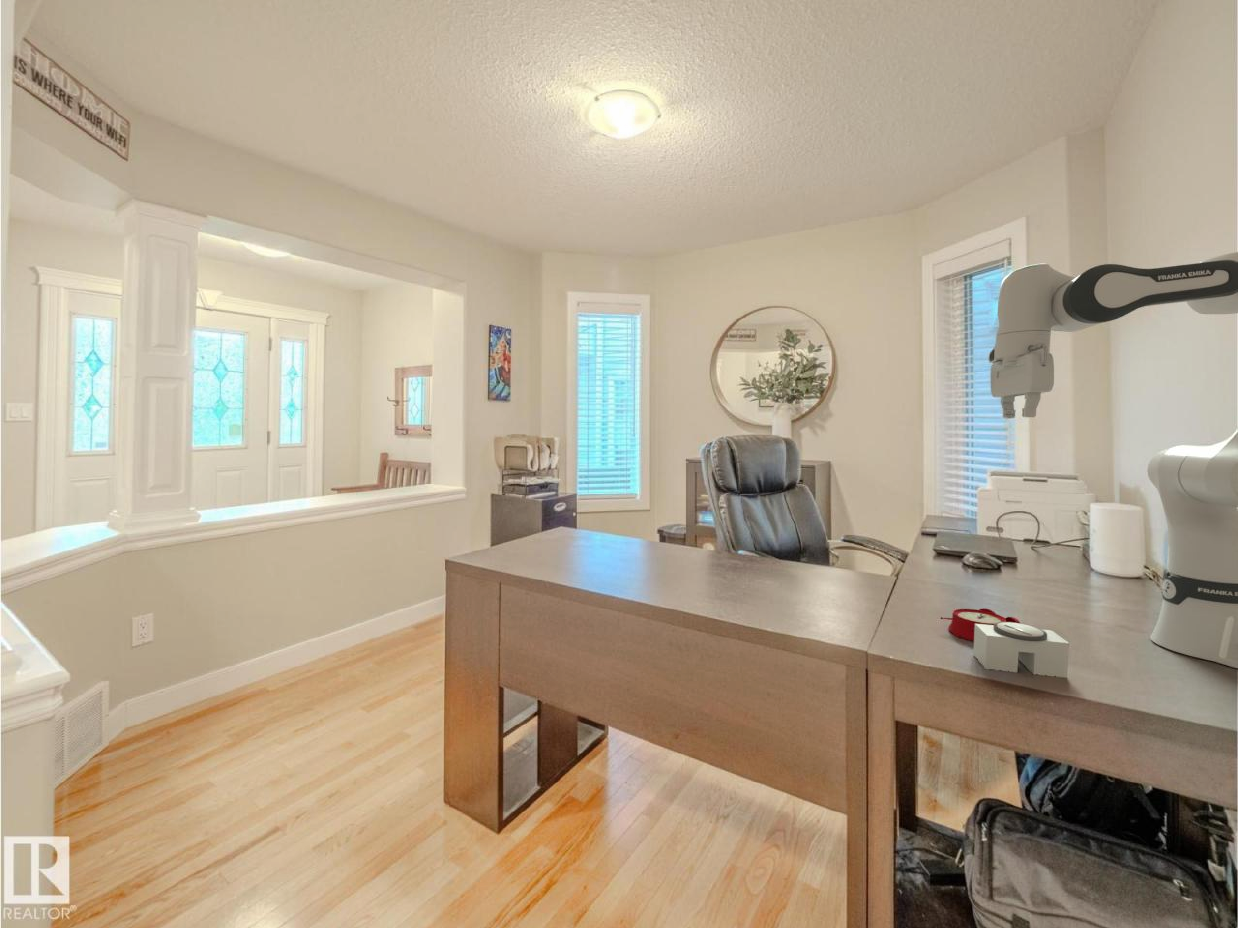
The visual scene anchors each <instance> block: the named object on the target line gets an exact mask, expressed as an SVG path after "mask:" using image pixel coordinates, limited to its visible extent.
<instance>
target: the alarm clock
mask: <svg viewBox="0 0 1238 928" xmlns="http://www.w3.org/2000/svg"><path fill="white" fill-rule="evenodd" d="M951 615H952V616H951V617H942V616H941V617H940V620H949V621H951V622H950V624H949V625H948V631H949V632H950V633H951V634H952V635H955V638H957V637H958V639H960V638H962V639H963V640H964V639H965V640H967V641H968V640H969V641H972V642H974V630H975V624H985V625H994V624H995V623H998V622H1014V623H1020V624H1021V622H1020V620H1019V619H1018V618H1016V617H1014V616H1007V617H1004V616H1002V615H1000V614H997V613H996V612H995V611H993V610H992V609H989V608H986V607H985V608H980V609H974V608H957V609H954V610H953V612H952V614H951Z"/></svg>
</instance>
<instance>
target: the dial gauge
mask: <svg viewBox="0 0 1238 928" xmlns="http://www.w3.org/2000/svg"><path fill="white" fill-rule="evenodd" d="M1069 647H1070V643H1069V642H1068V641H1067V640H1065V639H1064V638H1062V637H1061V636H1060V635H1058V633H1056V632H1055V631H1053V630H1050V629H1041V628H1039V627H1035V626H1034V625H1029V624H1026V623H1021V622H1020V623H1014V622H998V623H995V624H994V625H985V624H975V630H974V641H973V651H972V652H973V654H974V655H973V657H974V656H975V657H976V658H977V659H978V660H977V659H976V658H975V657H974V658H975V659H976V660H977V661H978V662H979V664H980V663H981V664H982V665H983V666H984V667H983V666H982V665H981V666H982V667H983V668H984V669H985V670H989V669H995V670H994V671H999V670H1002V671H1001V672H1008V671H1009V672H1010V673H1018V667H1019V662H1020V661H1021V662H1022V663H1023V664H1024V665H1025V666H1026V667H1025V666H1024V665H1023V664H1022V663H1021V662H1020V663H1021V664H1022V665H1023V666H1024V667H1025V668H1026V669H1027V670H1029V672H1031V673H1032V674H1033V675H1036V674H1038V676H1045V675H1047V676H1048V677H1054V676H1056V678H1063V679H1064V678H1066V679H1067V678H1068V668H1069V667H1068V666H1069V652H1070V651H1069V649H1070V648H1069ZM1018 652H1019V653H1018ZM1019 660H1020V661H1019ZM1047 676H1046V677H1047Z"/></svg>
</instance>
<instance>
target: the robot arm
mask: <svg viewBox="0 0 1238 928" xmlns="http://www.w3.org/2000/svg"><path fill="white" fill-rule="evenodd" d="M1185 302H1186V303H1187V305H1188V306H1189V307H1190V309H1192V311H1194V312H1196V313H1198V314H1200V315H1232V314H1233V315H1234V314H1238V251H1234V252H1230V253H1225V254H1222V255H1217V256H1215V257H1212V258H1209V259H1205V260H1202V261H1200V262H1197V263H1189V264H1181V265H1179V264H1178V265H1173V266H1164V267H1163V266H1162V267H1157V268H1141V267H1140V268H1139V267H1134V266H1133V267H1132V266H1128V265H1123V264H1116V263H1105V264H1104V263H1103V264H1100V265H1096V266H1093V267H1091V268H1089V269H1087V270H1085V271H1084V272H1082V273H1081V274H1080V275H1078V276H1077V277H1076V276H1075V277H1073V276H1070V275H1067V274H1066V273H1065V274H1064V273H1062V272H1060V271H1058V270H1056V269H1054V268H1053V267H1051V265H1050V264H1048V263H1036V264H1030V265H1026V266H1024V267H1020V268H1019V269H1018V268H1017V269H1015V270H1014V271H1011V272H1010V273H1009V274H1007V275H1006V276H1005V277H1004V278H1003V280H1002V282H1001V285H1000V289H999V295H998V301H997V314H996V315H997V319H998V329H997V331H996V336H995V339H996V340H995V344H994V347H993V349H992V350H991V351H990V352H989V353H988V363H989V364H991V366H990V375H989V377H990V379H989V380H990V393H991V396H992V397H993V398H1000V405H1001V408H1002V418H1003V419H1014V418H1016V409H1015V405H1014V402H1015V401H1016V400H1015V398H1016V397H1020V396H1021V397H1022V396H1024V400H1025V402H1024V407H1023V408H1022V410H1021V412H1022V413H1021V416H1022V418H1035V417H1036V416H1037V409H1038V406H1039V404H1040V402H1041V397H1042V396H1041V394H1044V393H1048V392H1049V393H1050V392H1052V390H1053V387H1054V385H1055V365H1054V364H1055V363H1054V356H1053V354H1052V353H1051V352H1050V351H1051V348H1050V347H1051V334H1052V333H1051V332H1052V331H1054V332H1067V333H1074V332H1078V331H1082V330H1086V329H1088V328H1091V327H1094V326H1097V325H1099V324H1102V323H1107V322H1112V321H1115V320H1117V319H1120V318H1123V317H1124V316H1126V315H1128V314H1130V313H1132V312H1134V311H1136V310H1137V309H1141V308H1144V307H1151V306H1160V305H1167V304H1175V303H1176V304H1177V303H1185ZM1147 477H1148V479H1149V481H1150V482H1151V483H1152V484H1153V486H1154V488H1155V489H1156V490H1157V492H1158V494H1159V496H1160V497H1159V498H1160V501H1161V504H1162V508H1163V511H1164V515H1165V516H1164V517H1165V520H1166V525H1167V534H1168V538H1167V540H1168V541H1167V562H1166V569H1164V570H1163V573H1162V585H1161V597H1162V598H1161V599H1162V602H1161V608H1160V612H1159V616H1158V619H1157V622H1156V625H1155V627H1154V629H1153V631H1152V633H1151V635H1150V637H1149V638H1150V640H1151V641H1152V642H1153V643H1155V644H1157V645H1158V646H1161V647H1163V648H1165V649H1168V650H1170V651H1173V652H1176V653H1179V654H1182V655H1187V656H1190V657H1194V658H1198V659H1203V660H1206V661H1211V662H1215V663H1218V664H1221V665H1224V666H1228V667H1230V668H1235V669H1238V427H1236V429H1235V430H1234V431H1233V432H1232V433H1231V434H1230V435H1229V436H1228V437H1227V438H1225V439H1223V440H1222V441H1220V442H1217V443H1214V444H1211V443H1210V444H1208V443H1186V444H1178V445H1176V446H1175V445H1174V446H1172V447H1168V448H1166V449H1162V450H1161V451H1159V452H1157V453H1155V454H1154V456H1153V457H1151V459H1150V460H1149V463H1148V464H1147Z"/></svg>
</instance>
